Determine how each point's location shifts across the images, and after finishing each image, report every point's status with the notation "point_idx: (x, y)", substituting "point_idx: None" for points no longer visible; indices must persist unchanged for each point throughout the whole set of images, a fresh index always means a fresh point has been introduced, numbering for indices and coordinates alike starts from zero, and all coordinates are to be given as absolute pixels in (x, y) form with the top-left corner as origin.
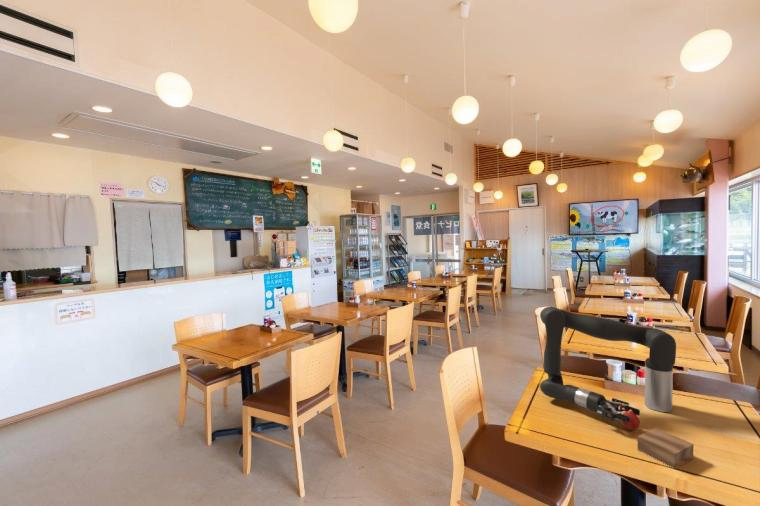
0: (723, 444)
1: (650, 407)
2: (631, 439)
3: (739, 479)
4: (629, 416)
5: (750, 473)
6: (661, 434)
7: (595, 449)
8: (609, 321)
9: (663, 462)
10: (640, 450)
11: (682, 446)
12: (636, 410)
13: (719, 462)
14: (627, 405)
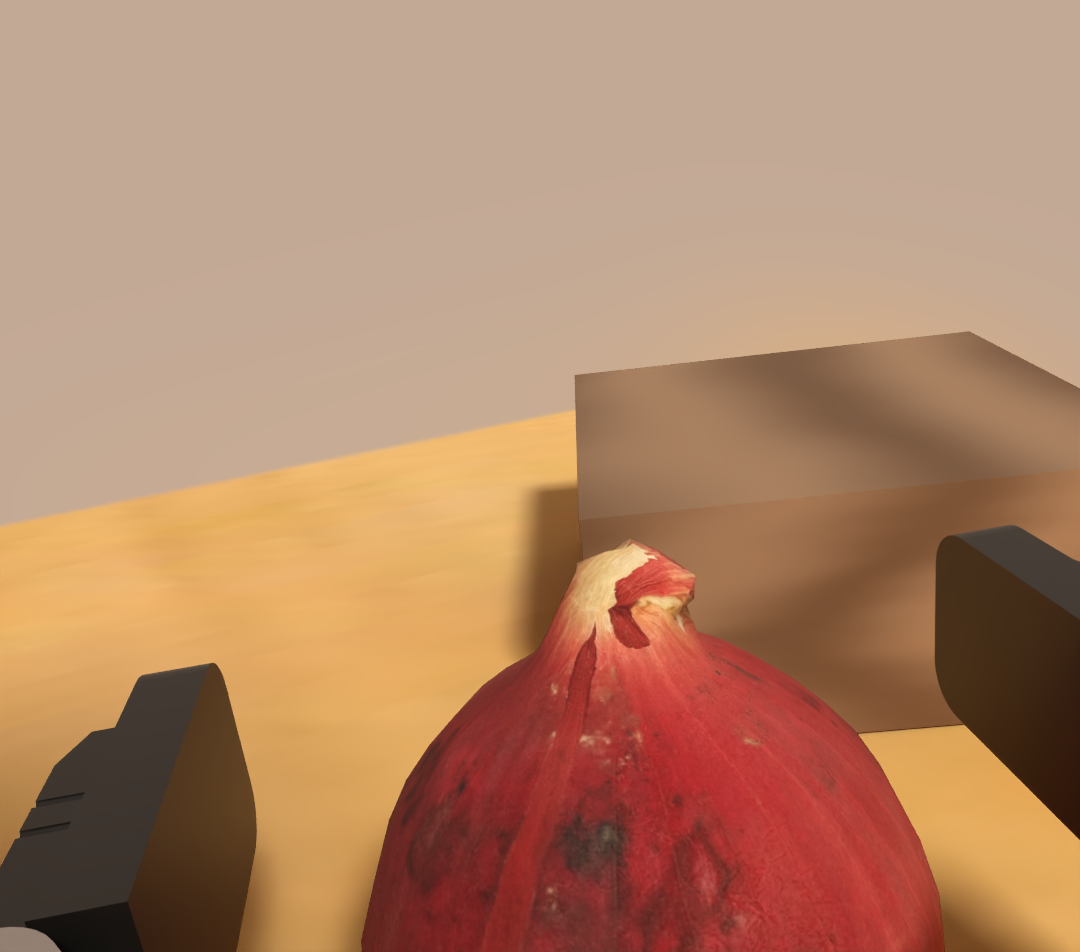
0: (19, 587)
1: None
2: (1042, 908)
3: (570, 431)
4: (796, 684)
5: (419, 446)
6: (713, 450)
7: None
8: None
9: None
10: None
11: (736, 366)
12: (212, 727)
13: (441, 499)
14: (31, 947)
